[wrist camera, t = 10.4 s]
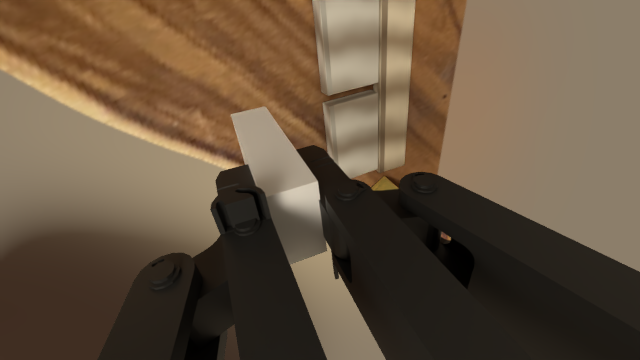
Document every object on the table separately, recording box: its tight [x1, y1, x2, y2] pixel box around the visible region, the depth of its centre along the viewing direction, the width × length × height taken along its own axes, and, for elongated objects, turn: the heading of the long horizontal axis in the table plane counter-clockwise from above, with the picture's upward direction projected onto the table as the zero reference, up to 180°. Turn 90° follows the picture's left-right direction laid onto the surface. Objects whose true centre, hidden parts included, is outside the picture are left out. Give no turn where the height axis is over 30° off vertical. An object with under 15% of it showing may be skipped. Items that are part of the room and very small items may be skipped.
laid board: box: [373, 0, 415, 173], centre depth 44 cm, size 29×5×2 cm, turn 6°
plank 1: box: [312, 0, 379, 96], centre depth 38 cm, size 13×8×2 cm, turn 7°
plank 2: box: [323, 90, 378, 179], centre depth 46 cm, size 13×8×2 cm, turn 6°
